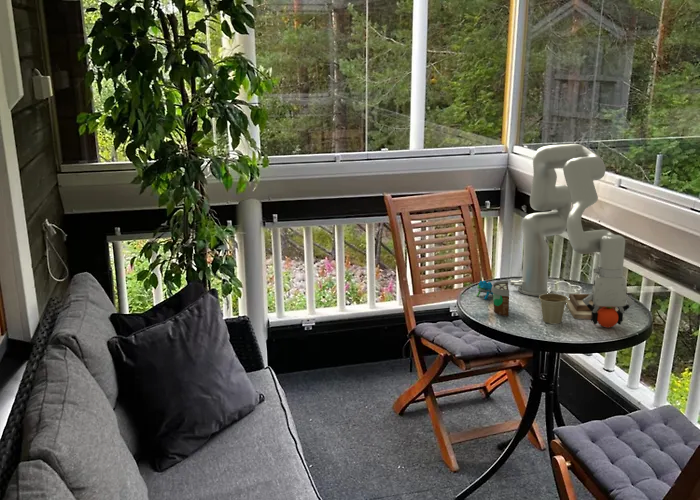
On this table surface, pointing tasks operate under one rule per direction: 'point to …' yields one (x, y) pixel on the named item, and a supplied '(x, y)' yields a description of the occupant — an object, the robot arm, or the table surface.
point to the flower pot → (552, 307)
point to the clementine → (607, 317)
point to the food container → (501, 298)
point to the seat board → (580, 306)
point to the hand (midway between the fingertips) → (606, 322)
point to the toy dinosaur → (485, 288)
